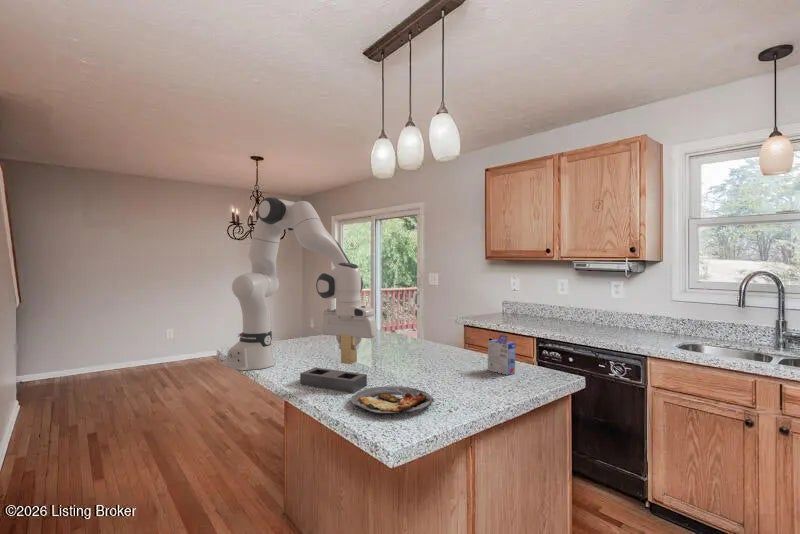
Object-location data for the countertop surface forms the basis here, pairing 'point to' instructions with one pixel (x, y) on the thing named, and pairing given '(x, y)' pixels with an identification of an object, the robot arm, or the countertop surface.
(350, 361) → the square peg
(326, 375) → the grey peg hole block
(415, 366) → the countertop surface
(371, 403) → the food plate
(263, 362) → the robot arm
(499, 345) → the ink cartridge box
